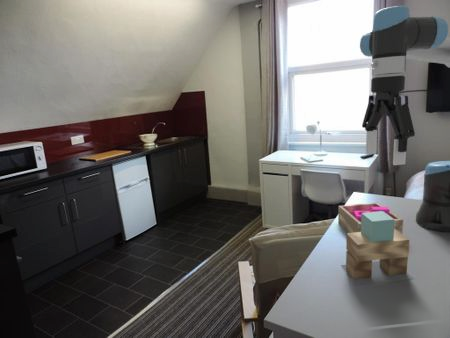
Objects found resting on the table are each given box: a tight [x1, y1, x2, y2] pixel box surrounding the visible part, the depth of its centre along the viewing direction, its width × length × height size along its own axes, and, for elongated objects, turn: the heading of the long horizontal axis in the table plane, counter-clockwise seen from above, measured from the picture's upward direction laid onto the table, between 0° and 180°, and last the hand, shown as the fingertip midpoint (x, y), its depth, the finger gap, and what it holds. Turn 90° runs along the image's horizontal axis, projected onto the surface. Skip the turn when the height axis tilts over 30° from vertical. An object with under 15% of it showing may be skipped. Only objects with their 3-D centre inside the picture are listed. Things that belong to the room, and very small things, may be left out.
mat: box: [340, 260, 415, 286], centre depth 91 cm, size 16×10×1 cm, turn 93°
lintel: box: [345, 229, 410, 262], centre depth 89 cm, size 14×7×5 cm, turn 93°
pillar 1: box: [345, 250, 373, 279], centre depth 90 cm, size 5×5×6 cm
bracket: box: [353, 206, 390, 222], centre depth 116 cm, size 12×10×10 cm
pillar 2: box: [379, 256, 409, 276], centre depth 91 cm, size 5×5×6 cm
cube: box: [361, 211, 395, 242], centre depth 88 cm, size 6×6×6 cm
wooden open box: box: [337, 201, 404, 235], centre depth 116 cm, size 15×17×7 cm
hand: (383, 158), depth 85 cm, fingers open, 13 cm apart
